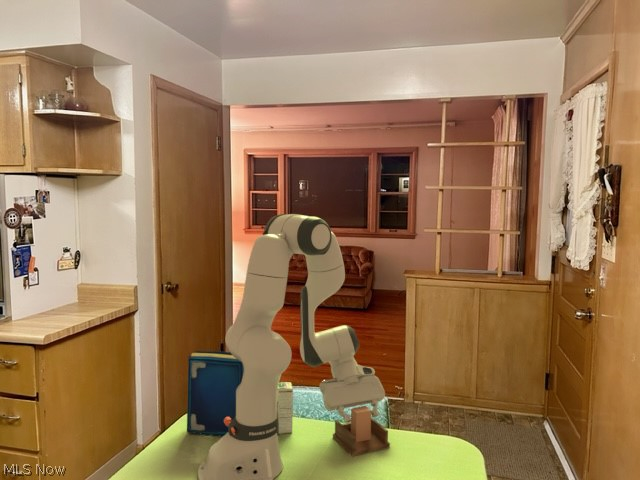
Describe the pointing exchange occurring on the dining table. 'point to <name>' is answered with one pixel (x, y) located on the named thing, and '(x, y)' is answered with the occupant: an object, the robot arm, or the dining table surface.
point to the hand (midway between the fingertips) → (362, 419)
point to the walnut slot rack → (355, 448)
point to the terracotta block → (361, 423)
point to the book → (212, 391)
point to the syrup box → (285, 406)
